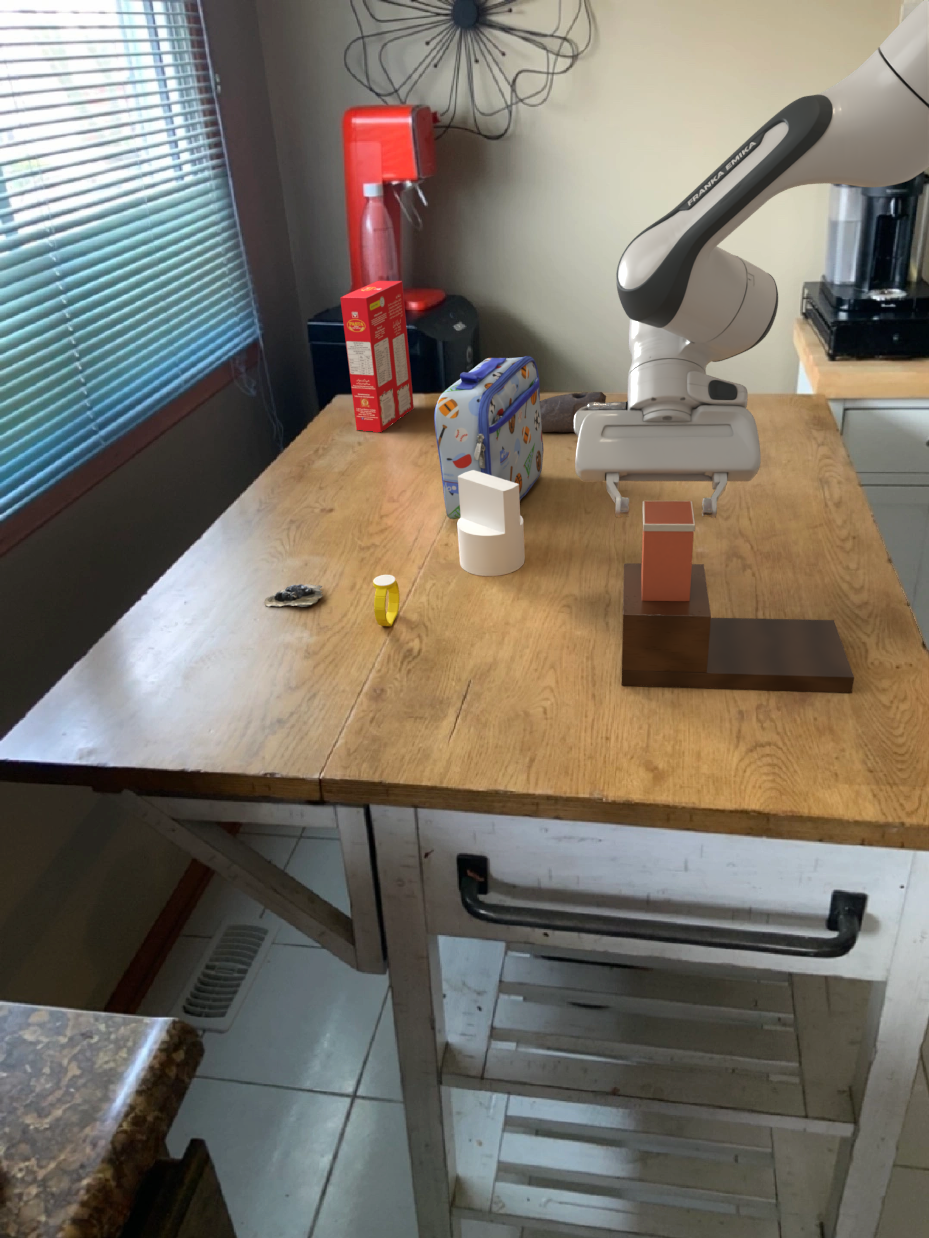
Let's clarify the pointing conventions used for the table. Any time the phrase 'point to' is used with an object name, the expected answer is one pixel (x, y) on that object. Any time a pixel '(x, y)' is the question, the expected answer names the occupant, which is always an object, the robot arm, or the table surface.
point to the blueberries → (295, 596)
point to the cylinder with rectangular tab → (489, 525)
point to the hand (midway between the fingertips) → (665, 515)
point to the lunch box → (490, 426)
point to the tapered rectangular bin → (667, 550)
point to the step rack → (724, 646)
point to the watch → (382, 585)
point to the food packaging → (378, 354)
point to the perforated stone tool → (565, 410)
